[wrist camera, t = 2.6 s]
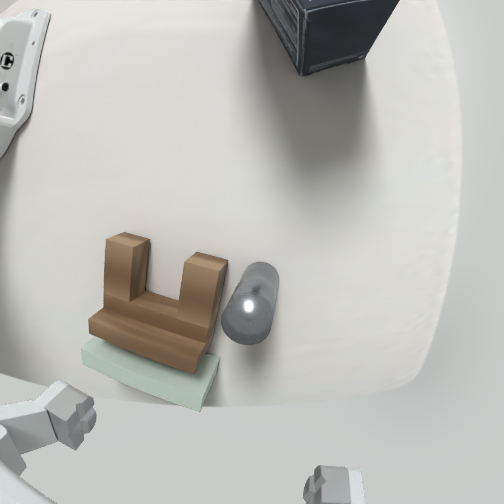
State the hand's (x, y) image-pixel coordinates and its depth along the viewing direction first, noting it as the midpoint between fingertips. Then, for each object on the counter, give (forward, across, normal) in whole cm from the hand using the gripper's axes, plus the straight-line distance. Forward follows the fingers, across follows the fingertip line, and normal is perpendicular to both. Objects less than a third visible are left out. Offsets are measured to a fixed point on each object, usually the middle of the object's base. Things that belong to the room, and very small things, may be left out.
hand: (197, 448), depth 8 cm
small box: (+18, +1, -23) cm, 29 cm away
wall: (+18, +8, +10) cm, 22 cm away
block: (+18, +8, +3) cm, 20 cm away
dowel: (+18, 0, 0) cm, 18 cm away
